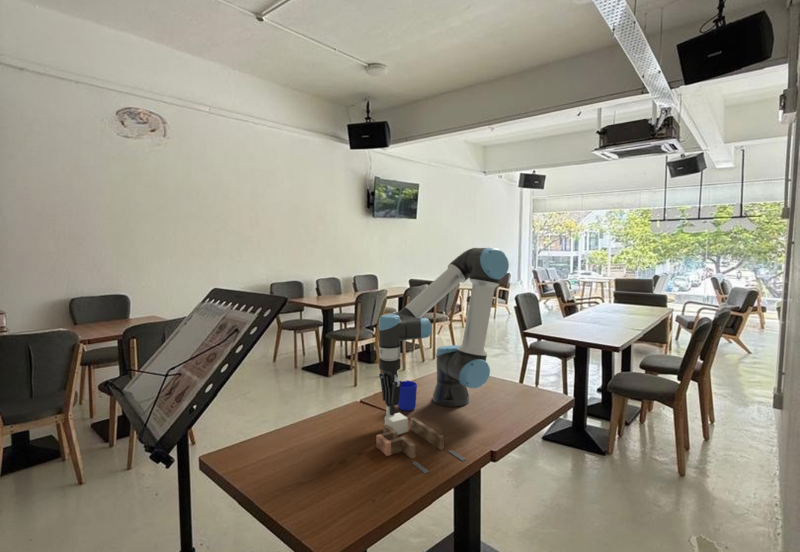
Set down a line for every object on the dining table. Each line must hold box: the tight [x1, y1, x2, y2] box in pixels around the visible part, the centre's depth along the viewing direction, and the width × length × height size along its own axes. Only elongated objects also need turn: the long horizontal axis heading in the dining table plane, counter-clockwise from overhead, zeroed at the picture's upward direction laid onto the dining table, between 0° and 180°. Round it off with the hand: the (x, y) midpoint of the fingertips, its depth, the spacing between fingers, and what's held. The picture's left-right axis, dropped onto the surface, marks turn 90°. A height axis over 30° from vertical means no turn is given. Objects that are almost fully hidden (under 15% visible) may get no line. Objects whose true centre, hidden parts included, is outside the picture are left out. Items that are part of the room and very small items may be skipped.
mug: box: [397, 379, 418, 412], centre depth 174 cm, size 8×12×10 cm
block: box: [384, 412, 409, 436], centre depth 152 cm, size 6×6×5 cm
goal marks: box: [411, 449, 467, 474], centre depth 130 cm, size 7×15×1 cm, turn 120°
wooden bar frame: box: [375, 417, 445, 459], centre depth 142 cm, size 18×18×4 cm
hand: (390, 422), depth 156 cm, fingers closed
